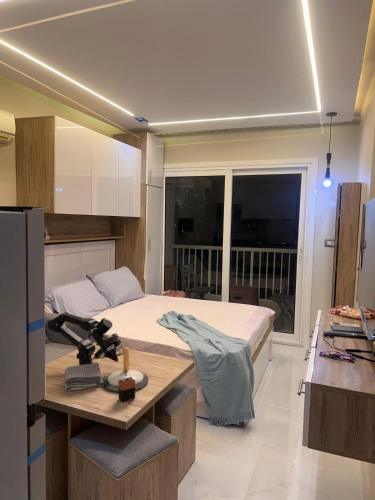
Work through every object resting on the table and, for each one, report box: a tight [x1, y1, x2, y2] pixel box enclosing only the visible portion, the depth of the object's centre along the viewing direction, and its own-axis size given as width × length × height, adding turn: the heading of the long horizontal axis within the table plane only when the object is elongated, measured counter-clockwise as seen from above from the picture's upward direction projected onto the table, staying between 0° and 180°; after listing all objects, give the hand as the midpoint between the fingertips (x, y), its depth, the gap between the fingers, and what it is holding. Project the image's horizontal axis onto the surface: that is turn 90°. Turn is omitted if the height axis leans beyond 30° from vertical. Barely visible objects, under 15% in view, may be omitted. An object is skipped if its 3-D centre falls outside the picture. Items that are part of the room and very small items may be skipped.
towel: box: [64, 362, 103, 392], centre depth 184 cm, size 15×18×8 cm
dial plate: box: [102, 370, 149, 394], centre depth 185 cm, size 23×23×2 cm
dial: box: [108, 347, 143, 387], centre depth 185 cm, size 18×18×13 cm
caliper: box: [92, 343, 125, 360], centre depth 221 cm, size 20×1×6 cm, turn 120°
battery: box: [118, 377, 136, 403], centre depth 168 cm, size 4×7×10 cm, turn 123°
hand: (117, 361), depth 195 cm, fingers closed
